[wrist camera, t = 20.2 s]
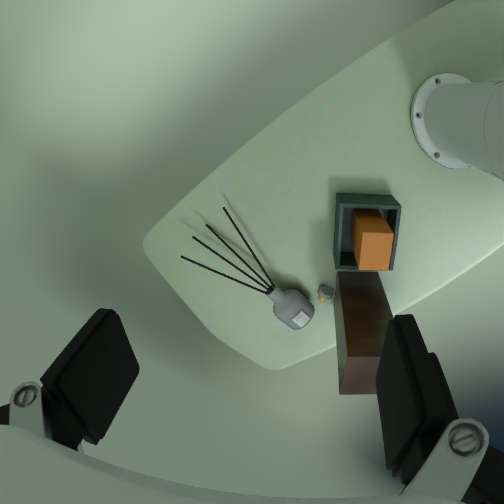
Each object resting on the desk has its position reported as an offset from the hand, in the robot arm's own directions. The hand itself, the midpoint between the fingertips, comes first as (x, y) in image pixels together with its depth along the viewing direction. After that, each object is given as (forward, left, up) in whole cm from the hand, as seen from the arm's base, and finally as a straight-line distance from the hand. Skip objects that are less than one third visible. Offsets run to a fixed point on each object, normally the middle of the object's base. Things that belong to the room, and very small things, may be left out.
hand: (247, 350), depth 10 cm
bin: (-9, +7, -32) cm, 34 cm away
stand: (-9, +17, -32) cm, 37 cm away
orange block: (-10, +7, -31) cm, 33 cm away
